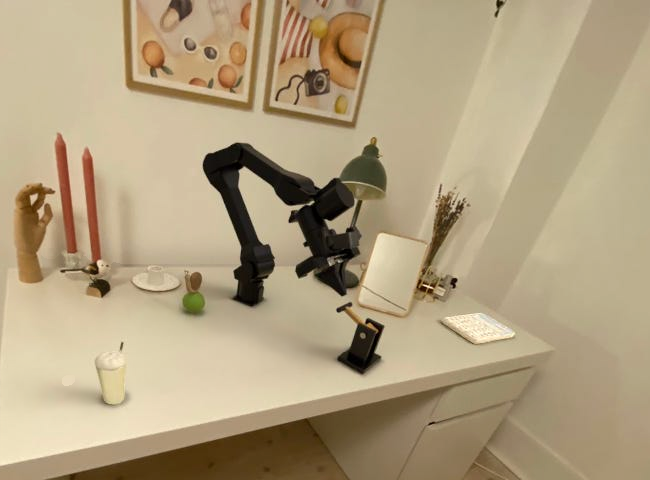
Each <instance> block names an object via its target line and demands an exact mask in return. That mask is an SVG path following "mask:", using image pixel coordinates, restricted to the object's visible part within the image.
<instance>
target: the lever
mask: <svg viewBox="0 0 650 480" xmlns="http://www.w3.org/2000/svg"><path fill="white" fill-rule="evenodd" d="M353 306H354V305H353V302H351V301H348V302H347V303H344V304H342V305H341V306H338V307H336V309H335V311H336V313H339V314H340V313H342V312H344V313H345V314H346V315H347V316H348V317H349V318H350V319H351V320H352V321H353V322H354V323H355V324H357V325H358V323H361V324H364V325H366V324H365V321H363V320H362V319H361V317H359V316H358V315H357V314H356V313H355V312H354V311H353V310H352V309H351V308H352V307H353ZM366 326H368V327H370V328H372V329H374V330H376V331H377V332H378V330H377V329H376V328H375V327H374V326H373V325H372V324H371V323H368V324H367V325H366ZM377 332H376V334H377Z"/></svg>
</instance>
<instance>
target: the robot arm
mask: <svg viewBox="0 0 650 480" xmlns="http://www.w3.org/2000/svg"><path fill="white" fill-rule="evenodd" d="M244 168H246V169H247V170H248V171H250V172H251V173H253V174H254V175H256V176H257V177H258V178H260V179H261V180H262V181H264V182H266V183H267V184H268V185H270V186H271V187H272V189H273V190H274V193H275V196H277V197H278V198H279V200H280V201H281V202H282V203H283V204H284V205H286V206H288V207H295V206H301V207H300V208H299V209H292V210H290V215H289V217H288V220H287V222H288V224H295V223H297V224H298V226H299V229H300V231H301V233H302V235H303V237H304V240H305V241H304V242H303V243H302V245H303V247H304V248H309V251H310V254H311V255H310V256H309V257H307V258H306V259H304V260H302V261H300V262H299V263H298V264H296V265H295V269H294V272H295V274H296V276H297V278H298V279H302V278H305V277H308V274H310V273H311V272H313V271H315V270H317V273H316V274H314V277H315V278H318V279H319V280H321V281H322V282H323V283H325V284H326V285H327V286H329V288H331V289H332V290H333V291H334V292H336V293H337V294H338V295H339V296H340V297H345V296H347V295H348V291H347V282H346V268H347V265H348V263H350V261H351V260H353V259H355V258H357V257H359V256H360V255H361V251H360V249H359V246H360V240H361V239H362V238H363V236H362V235H363V234H362V233H360V229H358V227H357V226H349V227H346V229H345V231H344V232H340V233H337V231H336V230H335V229H334V228H329V225H328V224H327V221H328V222H333V221H335V220H336V219H337V218H339V217H340V216H342V215H343V214H345V213H346V212H347V211H350V209H352V208H353V207H354V206H355V197H354V194H353V192H352V191H351V190H350V188H349V187H348V186H347V185H346V184H345V183H343V182H342V179H341V178H340V177H333V178H331V180H329V182H328V183H327V184H326V185H324V186H323V187H321V188H320V187H318V186H317V185H316V184H315V182H314V181H313V179H312V178H310V177H309V176H305V175H304V174H301V173H297V172H294V171H290V170H287V169H286V168H283V167H282V166H280V165H279V164H278V163H276V162H275V161H273V160H272V159H270V158H269V157H268V156H266V155H265V154H263V153H262V152H260V151H258V149H256V148H255V147H254V146H252V144H250V143H248V142H236V141H235V142H234V143H232V144H230V145H229V146H226V147H225V148H221V149H219V150H216V151H214V152H207V154H205V156H204V158H203V161H202V171H203V173H204V175H205V177H206V178H207V180H208V183H209V185H211V186H212V187H213V188H214V189H215V190H216V191H217V192H218V193H219V195H220V197H221V199H222V202H223V204H224V207H225V209H226V212H227V214H228V217H229V220H230V222H231V225H232V227H233V230H234V232H235V235H236V237H237V240H238V244H239V245H240V254H239V262H240V264H241V265H239V266H238V267H236V268H235V269H234V270H233V271H232V272H233V278H234V279H235V280H236V281H237V287H236V294H235V295H234V296H233V297H232V299H233V300H235V301H238V302H240V303H243V304H245V305H248V306H250V307H254V306H256V305H257V304H259V303H261V302H262V301H264V299H265V298H264V292H265V286H264V283H265V280H266V279H267V280H268V279H269V277H270V276H271V275H272V274H273V272H274V270H275V267H276V263H275V260H276V257H275V256H274V254H273V251H272V249H271V248H272V247H271V246H270V244H269V243H266V244H264V243H262V242H261V241H260V239H259V237H258V235H257V231H256V229H255V226H254V224H253V221H252V219H251V216H250V214H249V211H248V208H247V205H246V204H245V203H246V202H245V200H244V198H243V195H242V193H241V189H240V186H239V183H240V171H241V170H243V169H244ZM311 202H312V203H311ZM310 203H311V204H310Z"/></svg>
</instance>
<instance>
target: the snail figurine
mask: <svg viewBox="0 0 650 480" xmlns="http://www.w3.org/2000/svg"><path fill="white" fill-rule="evenodd" d="M183 271H184V280H185V288H186V291H187V292H186V293H185V294H184V295H183V297H182V300H181V301H182V302H181V303H182V306H183V308H184V309H185V310H186V311H187V312H188V313H191V314H197V313H200V312H202V311H203V309H204V308H205V306H206V299H205V297H204V295H203V294H202V293H201V292H199V291H200V289H201V285H202V282H203V275H202V273H201V272H199V271H195V272H193V273H191V275H190V270H187V269H184V270H183Z"/></svg>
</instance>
